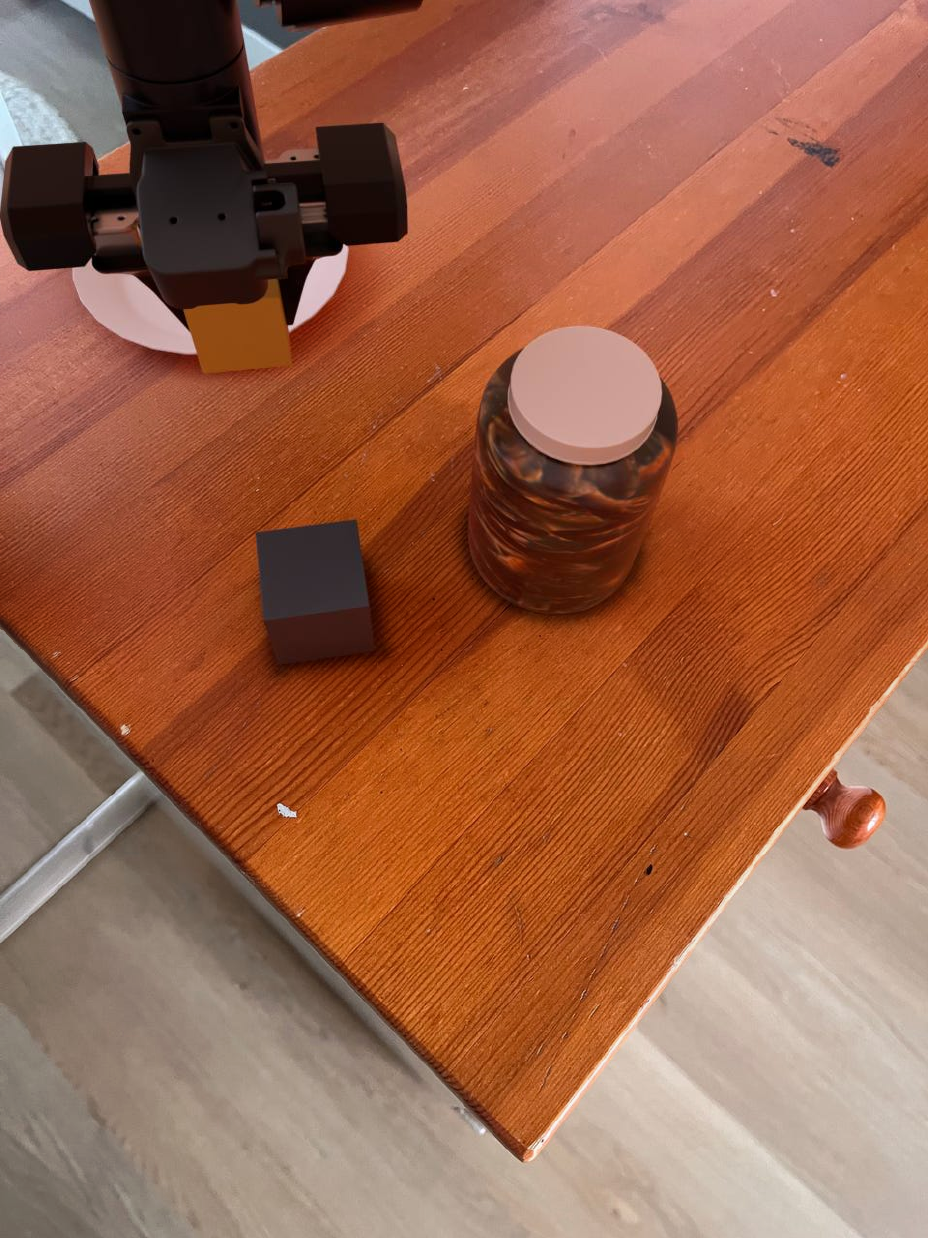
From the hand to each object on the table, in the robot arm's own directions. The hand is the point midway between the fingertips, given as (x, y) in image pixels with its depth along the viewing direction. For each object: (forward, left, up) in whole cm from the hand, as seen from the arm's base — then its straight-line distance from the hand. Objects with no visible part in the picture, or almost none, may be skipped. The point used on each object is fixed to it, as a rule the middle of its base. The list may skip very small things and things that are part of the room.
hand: (241, 324), depth 51 cm
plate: (-12, +15, -13) cm, 23 cm away
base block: (+8, -10, -13) cm, 18 cm away
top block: (0, 0, -1) cm, 1 cm away
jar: (+20, +1, -13) cm, 24 cm away
